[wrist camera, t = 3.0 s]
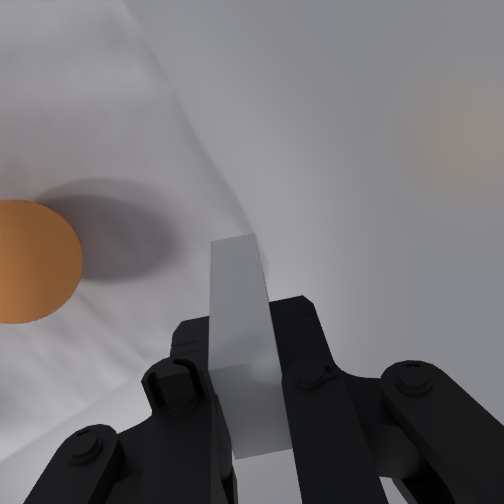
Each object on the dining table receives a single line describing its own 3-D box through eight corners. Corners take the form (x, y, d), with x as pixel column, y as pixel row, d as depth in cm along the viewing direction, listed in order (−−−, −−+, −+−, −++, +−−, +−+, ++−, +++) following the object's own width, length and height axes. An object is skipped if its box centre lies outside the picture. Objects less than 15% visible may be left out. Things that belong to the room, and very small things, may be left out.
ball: (7, 294, 25) (-43, 361, 20) (-42, 197, 22) (-113, 245, 17) (109, 272, 25) (84, 334, 20) (71, 172, 22) (32, 214, 17)
